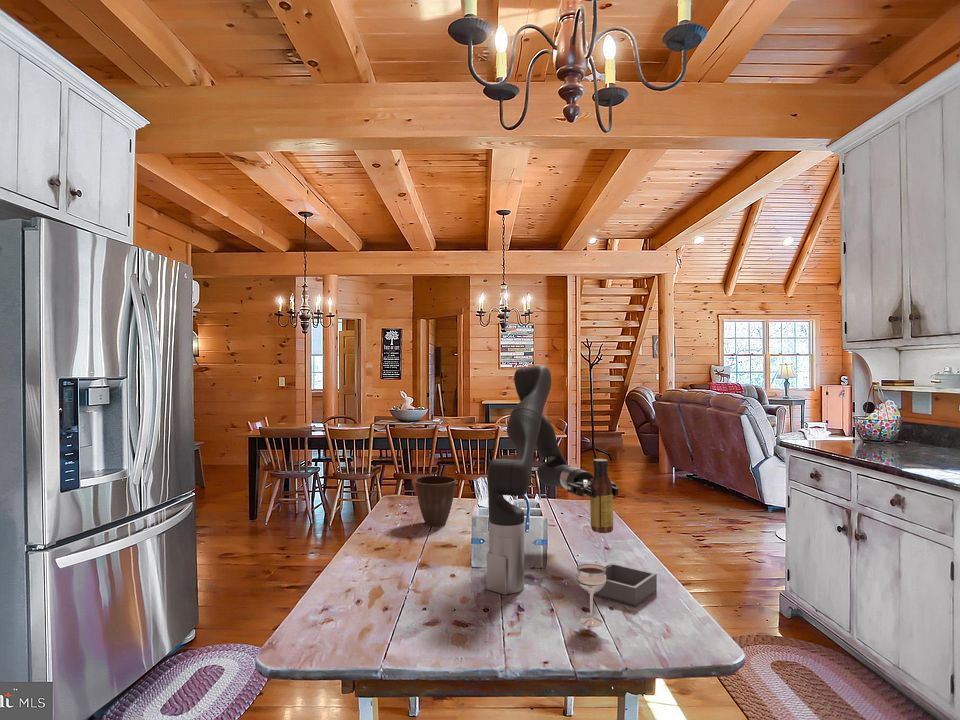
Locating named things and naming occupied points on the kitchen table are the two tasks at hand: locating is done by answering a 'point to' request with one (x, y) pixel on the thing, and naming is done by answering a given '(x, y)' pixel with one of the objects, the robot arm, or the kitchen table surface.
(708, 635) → the kitchen table surface
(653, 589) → the grey shallow tray
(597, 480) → the sauce bottle
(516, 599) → the kitchen table surface
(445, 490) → the plant pot
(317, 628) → the kitchen table surface
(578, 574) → the wineglass
